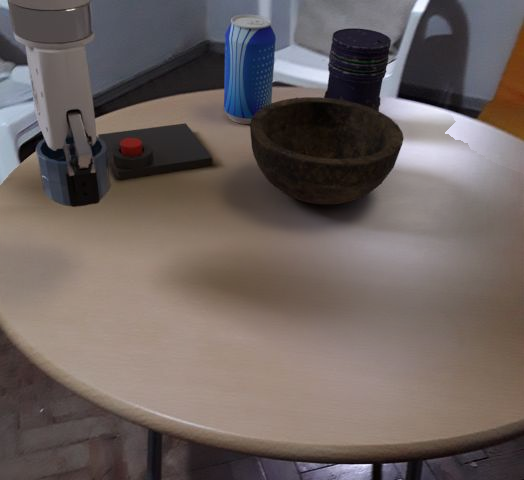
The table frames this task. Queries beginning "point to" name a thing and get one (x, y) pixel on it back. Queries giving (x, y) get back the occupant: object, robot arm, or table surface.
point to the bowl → (324, 148)
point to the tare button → (131, 146)
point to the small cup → (55, 169)
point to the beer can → (248, 66)
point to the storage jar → (357, 66)
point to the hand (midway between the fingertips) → (76, 184)
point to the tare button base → (156, 151)
